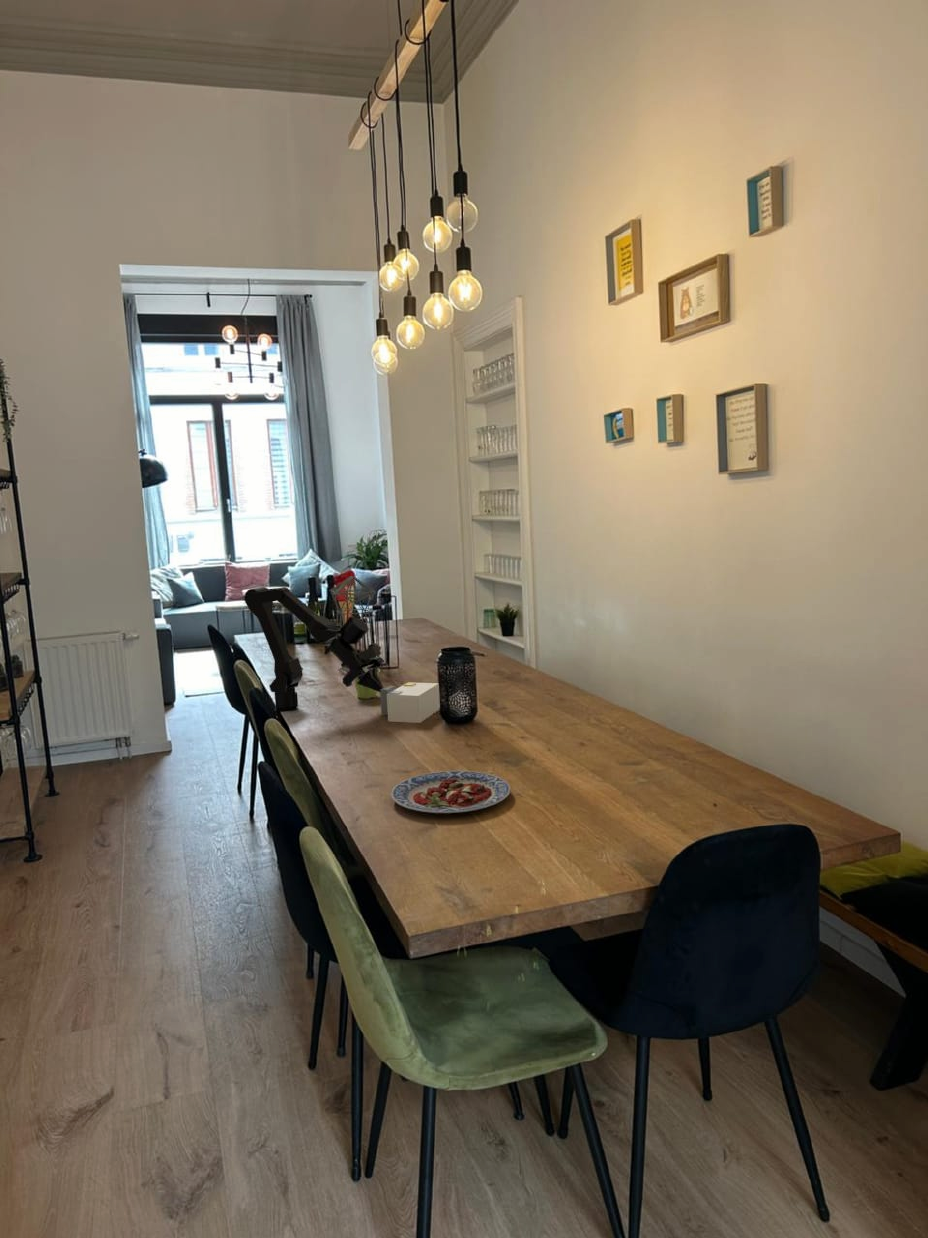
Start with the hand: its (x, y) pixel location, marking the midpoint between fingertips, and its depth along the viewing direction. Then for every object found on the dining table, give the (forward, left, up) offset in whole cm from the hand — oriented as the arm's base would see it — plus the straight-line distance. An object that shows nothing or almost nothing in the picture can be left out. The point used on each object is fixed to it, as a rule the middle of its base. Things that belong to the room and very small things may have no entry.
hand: (383, 691), depth 267 cm
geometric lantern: (-3, +73, -7) cm, 73 cm away
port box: (+8, -5, -7) cm, 12 cm away
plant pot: (-3, +24, -7) cm, 25 cm away
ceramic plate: (+7, -78, -7) cm, 79 cm away
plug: (+4, -2, -6) cm, 8 cm away
